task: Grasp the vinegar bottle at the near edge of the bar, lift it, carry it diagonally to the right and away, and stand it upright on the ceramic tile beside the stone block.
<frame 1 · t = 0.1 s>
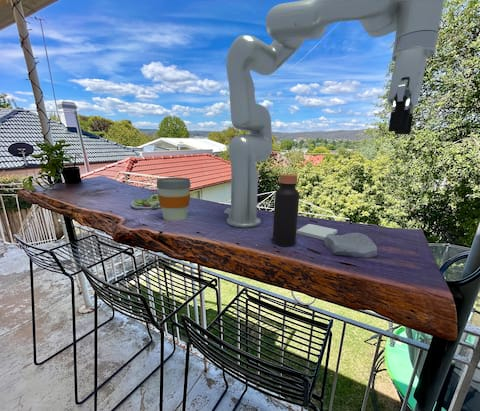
hand: (399, 132, 55), 31 cm above the bar counter, tool pointing down, fingers open, 9 cm apart
stone block: (350, 252, 67), on the bar counter
reusable coffee cup: (175, 218, 95), on the bar counter
salad plate: (151, 206, 115), on the bar counter
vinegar: (283, 243, 72), on the bar counter
tile: (316, 232, 81), on the bar counter
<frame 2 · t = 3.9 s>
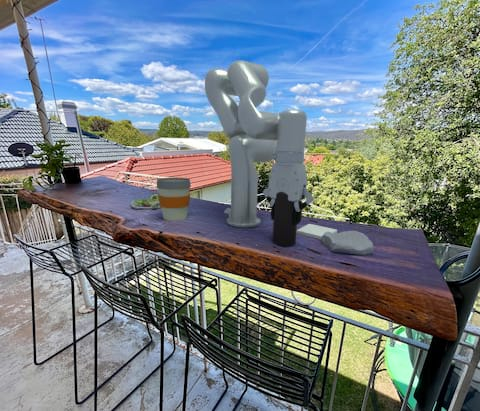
hand: (285, 220, 70), 7 cm above the bar counter, tool pointing down, fingers closed on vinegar, 6 cm apart
stone block: (347, 249, 69), on the bar counter
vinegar: (283, 243, 72), on the bar counter, touching gripper
everything else where it was.
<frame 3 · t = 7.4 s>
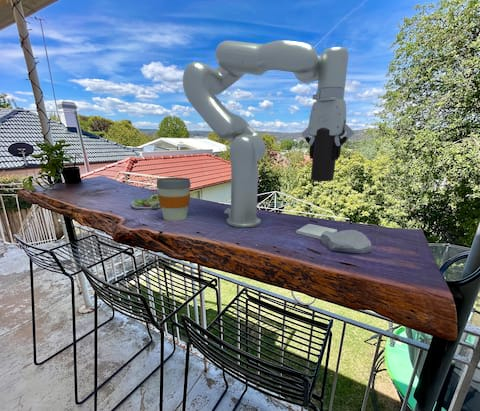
hand: (323, 158, 75), 24 cm above the bar counter, tool pointing down, fingers closed on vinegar, 6 cm apart
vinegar: (321, 180, 76), point 18 cm above the bar counter, touching gripper
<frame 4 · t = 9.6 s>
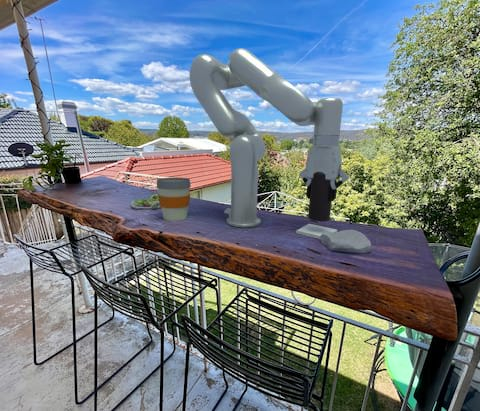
hand: (320, 199, 78), 12 cm above the bar counter, tool pointing down, fingers closed on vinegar, 6 cm apart
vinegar: (318, 219, 79), point 5 cm above the bar counter, touching gripper
everything else where it was.
when the fingers open (9 cm above the bar counter, at t = 11.0 s): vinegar drops 2 cm, resting on tile.
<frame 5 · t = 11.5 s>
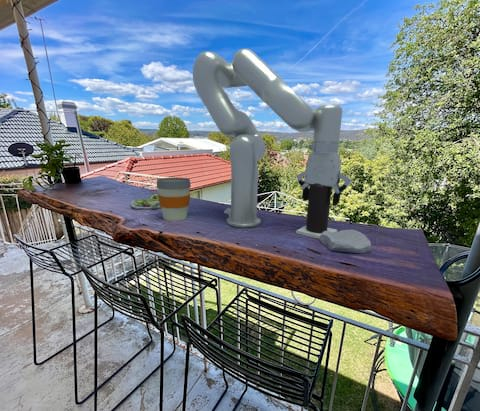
hand: (319, 202, 78), 10 cm above the bar counter, tool pointing down, fingers open, 9 cm apart
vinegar: (316, 230, 80), point 1 cm above the bar counter, touching tile
everything else where it was.
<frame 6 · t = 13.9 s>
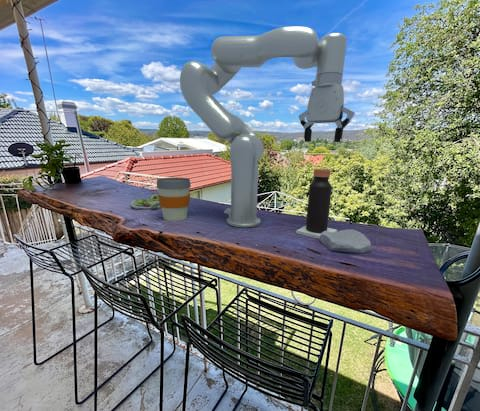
hand: (321, 141, 76), 30 cm above the bar counter, tool pointing down, fingers open, 9 cm apart
nothing on the bar counter moved.
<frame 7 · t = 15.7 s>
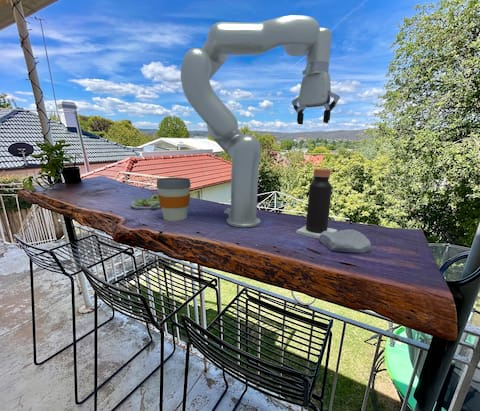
hand: (312, 123, 87), 36 cm above the bar counter, tool pointing down, fingers open, 9 cm apart
at the end: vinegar 0.4 cm off-centre on the tile, point 0.8 cm above the tile's base; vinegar tilted 0°; stone block moved 3.0 cm from its start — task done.
